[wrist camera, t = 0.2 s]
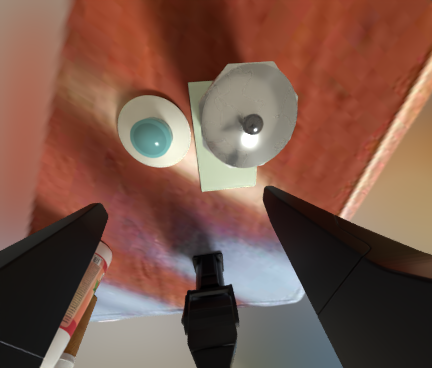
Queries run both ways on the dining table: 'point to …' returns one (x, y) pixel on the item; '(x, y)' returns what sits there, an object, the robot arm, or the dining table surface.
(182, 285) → the dining table surface
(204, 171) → the sage placemat
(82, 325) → the disposable coffee cup
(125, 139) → the teal puck on dish
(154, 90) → the dining table surface
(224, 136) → the grey metal canister
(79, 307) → the fruit juice
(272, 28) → the dining table surface
